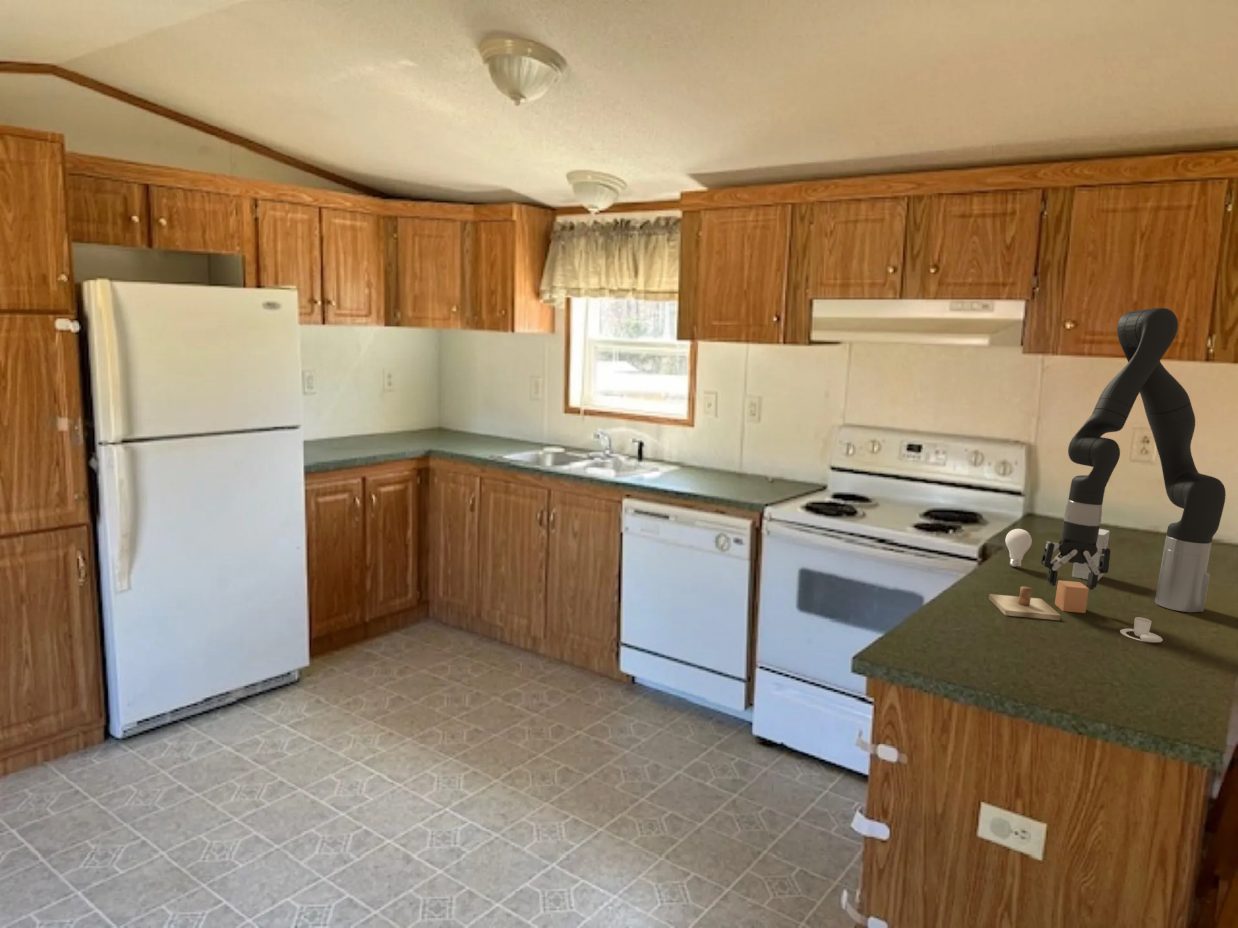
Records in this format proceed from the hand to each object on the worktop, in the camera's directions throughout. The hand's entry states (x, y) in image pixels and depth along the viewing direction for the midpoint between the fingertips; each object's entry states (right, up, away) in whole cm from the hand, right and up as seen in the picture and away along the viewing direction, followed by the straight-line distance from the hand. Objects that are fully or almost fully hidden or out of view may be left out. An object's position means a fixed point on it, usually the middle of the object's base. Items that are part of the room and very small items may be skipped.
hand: (1070, 586), depth 199 cm
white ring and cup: (+4, -9, -17) cm, 20 cm away
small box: (+21, -2, +30) cm, 37 cm away
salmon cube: (0, -5, +1) cm, 5 cm away
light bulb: (+3, 0, +35) cm, 35 cm away
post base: (-12, -5, -2) cm, 13 cm away
